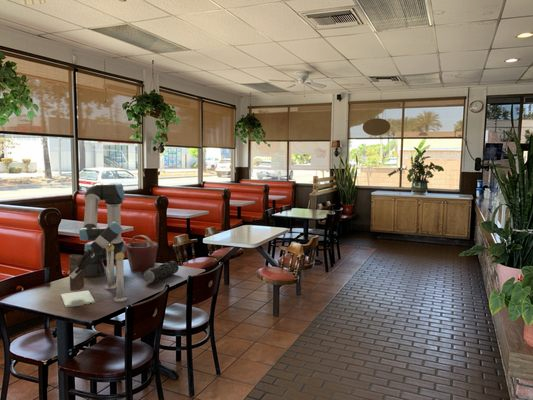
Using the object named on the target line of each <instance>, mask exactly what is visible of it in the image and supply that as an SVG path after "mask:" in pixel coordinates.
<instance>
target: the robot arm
mask: <svg viewBox="0 0 533 400" xmlns="http://www.w3.org/2000/svg"><path fill="white" fill-rule="evenodd" d="M125 200H126V198H125V189H124V186H123V184H122V183H118V182H117V183H115V182H110V183H109V182H108V183H107V182H105V183H101V182H100V183H99V182H98V183H95V184H92V186H90V187H89V188H88V189H87V190H86V191H85V193H84V198H83V201H84V203H85V205H84V206H85V208H84V219H83V227H81V228H79V231H78V232H79V233H78V234H79V235H78V237H79V240H80V241H82V242H83V241H88V242H87V243H85V244H84V250H83V251H84V254H82V256H83V262H82V263H81V264H80V266H77V268H76V269H75V270H74V271H73V272H72V273H71V274H70V269H69V270H68V271H67V274H68V276H69V278H70V277H71V278H72V279H73V278H74V277H75V276H76V275H77V274H78V273H79V272H80V271H81V270H83V273H84V278H97V277H98V278H99V277H103V276H104V275H107V268H106V267H105V264H104V260H107V251H106V247H107V246H109V244H112V245H113V246H114V259H115V255H116V253H118V252H122V253H123V254H124V255H125V252H126V245H127V244H126V242H127V241H124V238H123V237H122V231H123V227H122V225H121V223H122V222H121V221H122V218H121V216H122V215H121V212H122V211H121V205H122V204H123V203H124V201H125ZM100 201H104V204H105V205H106V208H107V209H106V210H107V211H106V212H107V226H106V227H98V211H99V203H100ZM115 260H116V259H115Z"/></svg>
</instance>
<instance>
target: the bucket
mask: <svg viewBox="0 0 533 400" xmlns="http://www.w3.org/2000/svg"><path fill="white" fill-rule="evenodd" d="M138 237H141V238H143V239H145V240H146V241H136V242H133V241H135V240H137V238H138ZM158 247H159V244H158V242H154V241H152V239H151V238H150V237H148V236H147V235H144V234H140V235H139V234H138V235H134V236H133V237H132V238H131V239H130V240H129V243H128V244H126V245H125V252H126V256H127V260H128V265H129V270H130V271H131V270H132V272H133V273H145V271H146V270H148V269H150V268H154V267H155V266H156V265H155V264H156V259H157V252H158Z"/></svg>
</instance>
